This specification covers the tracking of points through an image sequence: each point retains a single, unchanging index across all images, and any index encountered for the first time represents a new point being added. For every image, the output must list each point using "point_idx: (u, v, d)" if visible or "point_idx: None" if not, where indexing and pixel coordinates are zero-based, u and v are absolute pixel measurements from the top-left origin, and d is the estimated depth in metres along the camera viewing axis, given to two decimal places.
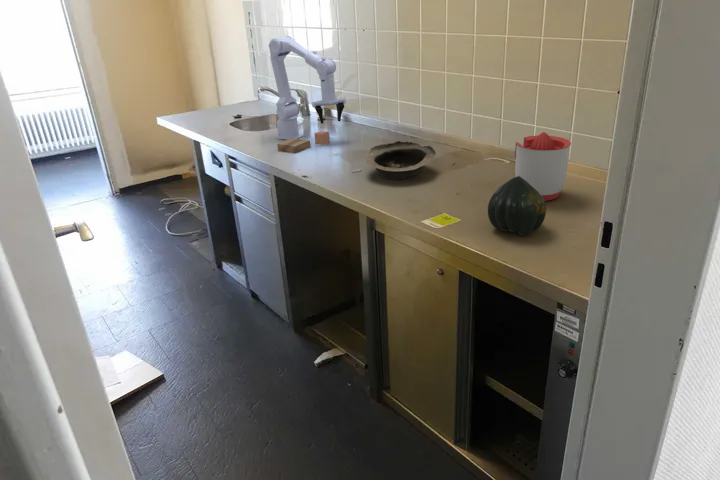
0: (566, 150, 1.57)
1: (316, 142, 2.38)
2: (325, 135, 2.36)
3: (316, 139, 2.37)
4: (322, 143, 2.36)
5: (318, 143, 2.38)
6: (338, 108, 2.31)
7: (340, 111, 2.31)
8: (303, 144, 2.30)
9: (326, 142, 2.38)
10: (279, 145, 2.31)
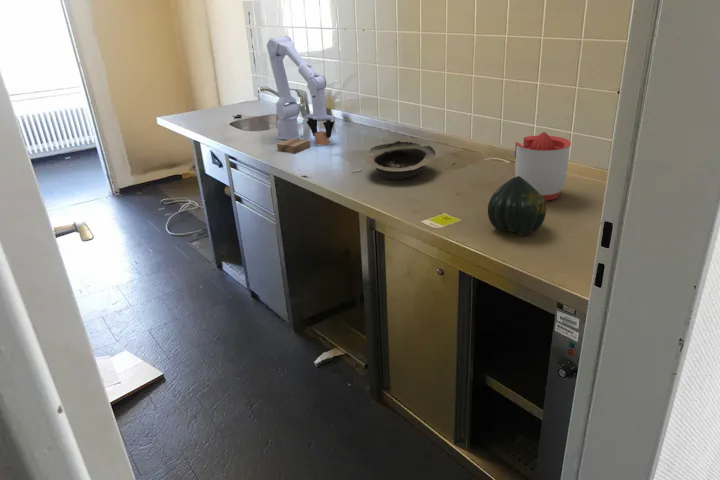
0: (566, 150, 1.57)
1: (316, 142, 2.38)
2: (325, 135, 2.36)
3: (316, 139, 2.37)
4: (322, 143, 2.36)
5: (318, 143, 2.38)
6: None
7: (326, 128, 2.32)
8: (303, 144, 2.30)
9: (326, 142, 2.38)
10: (279, 145, 2.31)
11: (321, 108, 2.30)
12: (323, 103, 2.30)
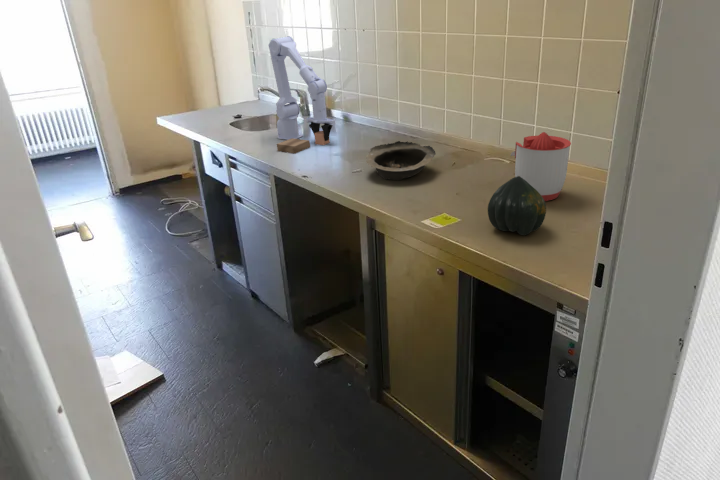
0: (566, 150, 1.57)
1: (316, 142, 2.38)
2: None
3: (316, 139, 2.37)
4: (322, 143, 2.36)
5: (318, 143, 2.38)
6: None
7: (324, 131, 2.34)
8: (302, 144, 2.30)
9: (326, 142, 2.38)
10: (278, 145, 2.31)
11: (321, 112, 2.31)
12: (323, 107, 2.31)
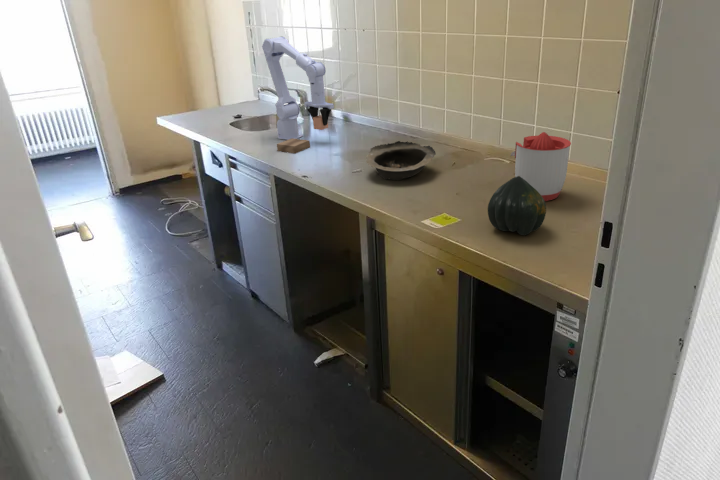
0: (566, 150, 1.57)
1: (314, 127, 2.35)
2: None
3: (314, 123, 2.34)
4: (320, 127, 2.33)
5: (316, 127, 2.35)
6: None
7: (322, 115, 2.31)
8: (302, 144, 2.30)
9: (325, 126, 2.35)
10: (278, 145, 2.31)
11: (320, 95, 2.28)
12: (322, 90, 2.28)
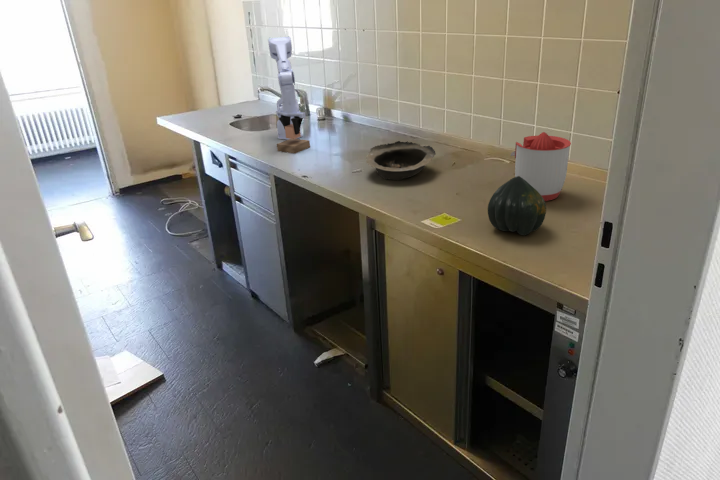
0: (566, 150, 1.57)
1: (287, 136, 2.30)
2: None
3: (286, 132, 2.30)
4: (293, 137, 2.29)
5: (289, 137, 2.30)
6: None
7: (294, 124, 2.26)
8: (302, 144, 2.30)
9: (297, 136, 2.30)
10: (278, 145, 2.31)
11: (291, 104, 2.23)
12: (289, 99, 2.22)
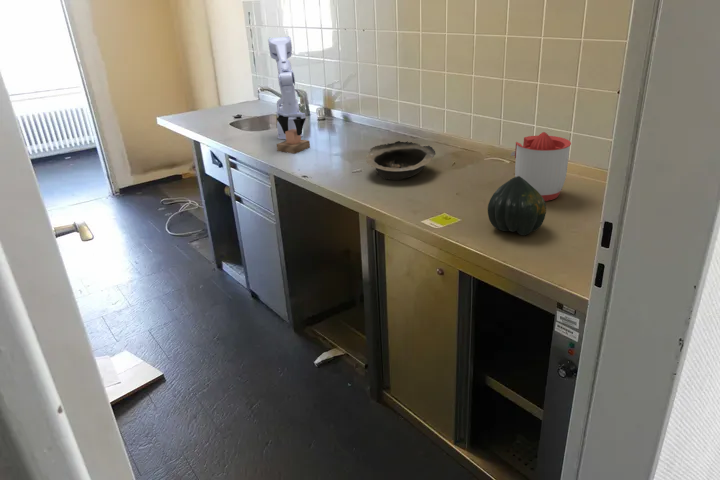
0: (566, 150, 1.57)
1: (287, 141, 2.31)
2: (296, 133, 2.29)
3: (287, 138, 2.30)
4: (293, 142, 2.29)
5: (289, 142, 2.31)
6: None
7: (296, 125, 2.25)
8: (302, 144, 2.30)
9: (297, 141, 2.31)
10: (278, 145, 2.31)
11: (291, 105, 2.23)
12: (289, 100, 2.22)
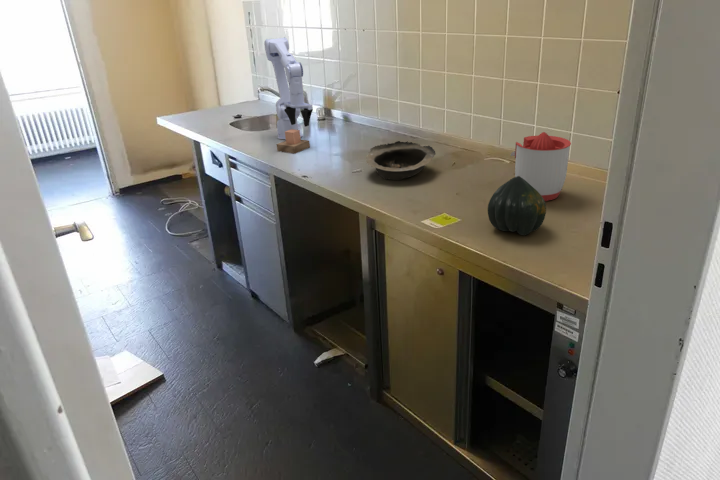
0: (566, 150, 1.57)
1: (287, 141, 2.31)
2: (296, 133, 2.29)
3: (287, 138, 2.30)
4: (293, 142, 2.29)
5: (289, 142, 2.31)
6: None
7: (303, 116, 2.27)
8: (302, 144, 2.30)
9: (297, 141, 2.31)
10: (278, 145, 2.31)
11: (298, 96, 2.25)
12: (298, 91, 2.24)
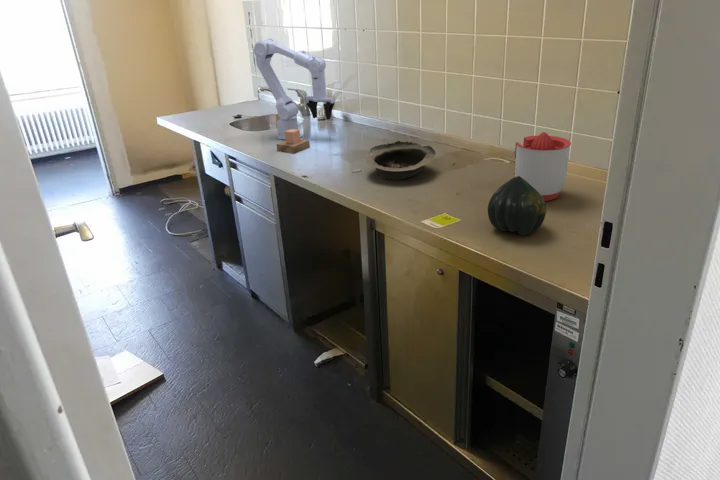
0: (566, 150, 1.57)
1: (286, 141, 2.31)
2: (296, 133, 2.29)
3: (286, 137, 2.30)
4: (292, 142, 2.29)
5: (288, 142, 2.31)
6: None
7: (325, 110, 2.36)
8: (302, 144, 2.30)
9: (297, 141, 2.31)
10: (278, 145, 2.31)
11: (321, 90, 2.34)
12: (324, 85, 2.34)
